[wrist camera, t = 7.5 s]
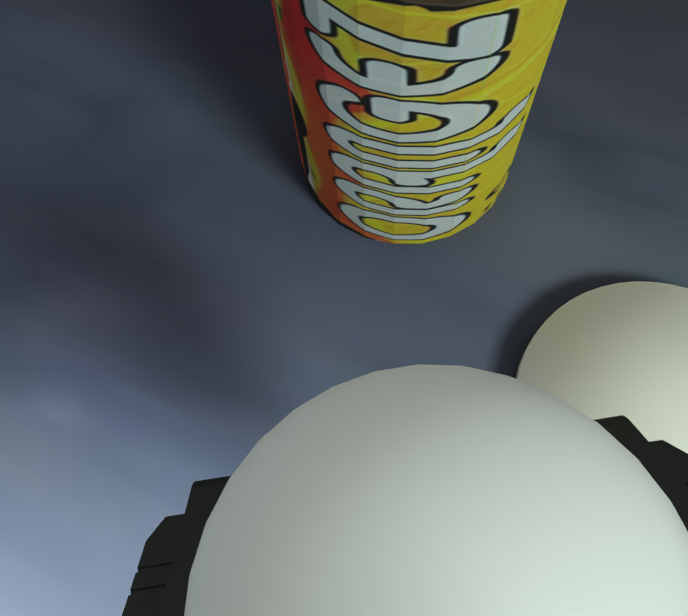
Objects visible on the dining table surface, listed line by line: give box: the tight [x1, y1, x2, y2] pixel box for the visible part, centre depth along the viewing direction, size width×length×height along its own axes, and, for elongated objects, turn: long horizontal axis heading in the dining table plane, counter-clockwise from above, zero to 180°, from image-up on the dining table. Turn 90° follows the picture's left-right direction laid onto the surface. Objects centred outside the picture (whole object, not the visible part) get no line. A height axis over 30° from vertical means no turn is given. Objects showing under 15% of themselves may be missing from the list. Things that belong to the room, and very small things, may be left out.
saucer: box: [515, 281, 688, 453], centre depth 22 cm, size 10×10×1 cm
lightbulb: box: [184, 365, 688, 616], centre depth 10 cm, size 6×6×11 cm
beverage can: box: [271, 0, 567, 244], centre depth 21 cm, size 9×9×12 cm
